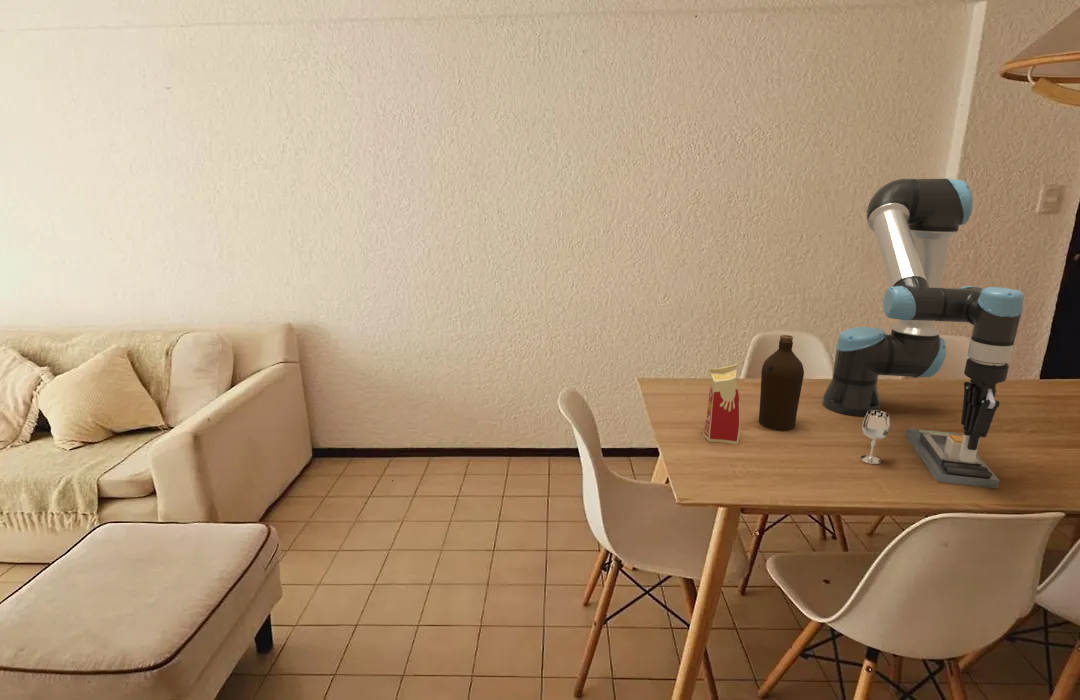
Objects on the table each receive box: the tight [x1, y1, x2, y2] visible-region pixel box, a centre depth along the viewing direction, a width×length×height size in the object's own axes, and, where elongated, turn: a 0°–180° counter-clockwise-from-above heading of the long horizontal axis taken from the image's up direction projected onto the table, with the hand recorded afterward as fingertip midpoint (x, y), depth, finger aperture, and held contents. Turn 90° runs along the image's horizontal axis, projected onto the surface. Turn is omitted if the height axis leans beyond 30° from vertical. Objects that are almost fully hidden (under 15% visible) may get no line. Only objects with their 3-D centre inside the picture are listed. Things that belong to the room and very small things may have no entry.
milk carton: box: [702, 363, 742, 445], centre depth 163 cm, size 9×9×20 cm
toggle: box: [944, 435, 963, 460], centre depth 147 cm, size 4×4×6 cm
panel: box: [904, 427, 1001, 489], centre depth 152 cm, size 12×26×3 cm, turn 165°
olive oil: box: [758, 334, 805, 432], centre depth 169 cm, size 11×11×25 cm
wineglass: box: [859, 410, 891, 465], centre depth 151 cm, size 6×6×12 cm
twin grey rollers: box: [943, 463, 992, 478], centre depth 141 cm, size 9×4×1 cm, turn 75°
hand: (966, 460), depth 142 cm, fingers closed
